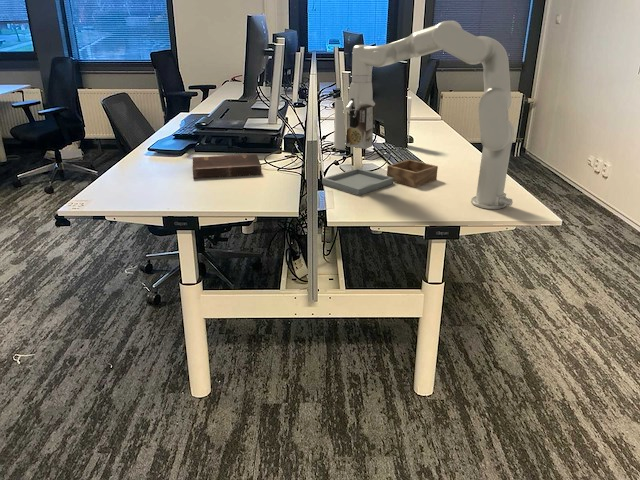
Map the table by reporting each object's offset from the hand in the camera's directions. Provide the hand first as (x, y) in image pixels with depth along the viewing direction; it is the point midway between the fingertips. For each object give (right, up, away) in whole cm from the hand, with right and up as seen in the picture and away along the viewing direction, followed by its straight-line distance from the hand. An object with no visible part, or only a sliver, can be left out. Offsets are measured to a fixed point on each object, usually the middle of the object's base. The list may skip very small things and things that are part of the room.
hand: (360, 125), depth 207 cm
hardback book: (-57, -15, +26) cm, 65 cm away
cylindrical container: (+28, +5, +71) cm, 77 cm away
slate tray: (0, -22, +10) cm, 24 cm away
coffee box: (0, -8, +4) cm, 9 cm away
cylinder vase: (-2, +3, +66) cm, 66 cm away
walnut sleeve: (+23, -20, +16) cm, 34 cm away
